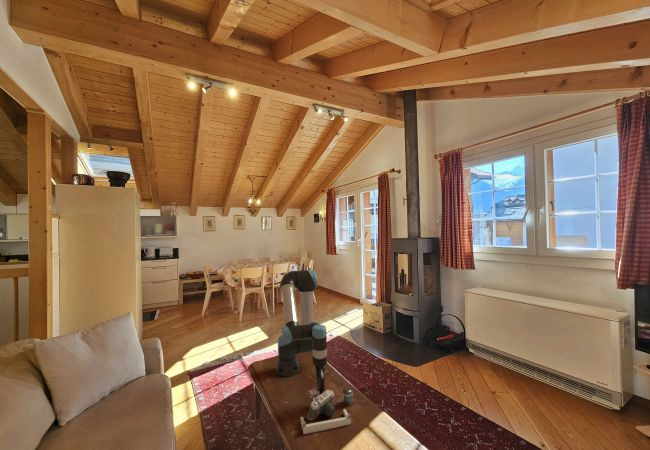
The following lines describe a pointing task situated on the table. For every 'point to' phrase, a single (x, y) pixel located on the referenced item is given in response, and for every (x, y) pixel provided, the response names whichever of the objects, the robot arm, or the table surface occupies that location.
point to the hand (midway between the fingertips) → (320, 401)
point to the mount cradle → (326, 424)
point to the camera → (321, 405)
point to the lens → (347, 396)
